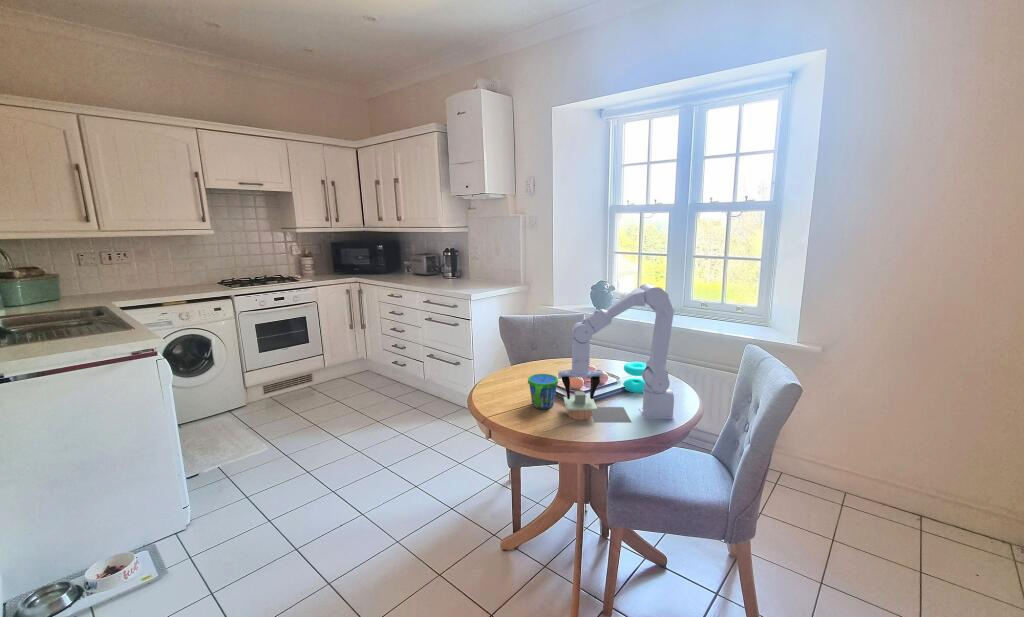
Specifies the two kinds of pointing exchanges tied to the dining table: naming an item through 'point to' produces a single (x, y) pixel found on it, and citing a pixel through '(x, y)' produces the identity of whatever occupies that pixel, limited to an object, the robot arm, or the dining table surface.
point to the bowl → (579, 414)
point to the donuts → (634, 383)
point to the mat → (610, 414)
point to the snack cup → (543, 390)
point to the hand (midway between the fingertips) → (579, 398)
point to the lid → (580, 402)
